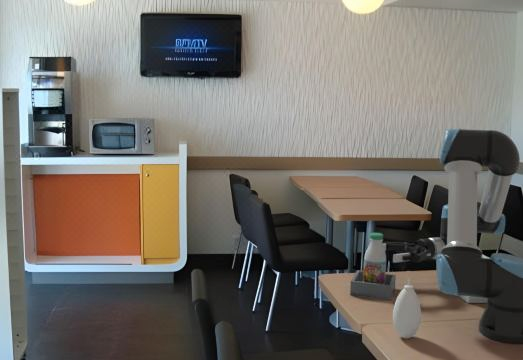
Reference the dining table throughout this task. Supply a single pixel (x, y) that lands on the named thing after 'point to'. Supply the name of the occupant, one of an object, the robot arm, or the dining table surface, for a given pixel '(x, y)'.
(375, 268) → the milk bottle
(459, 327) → the dining table surface
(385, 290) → the box
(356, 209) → the dining table surface
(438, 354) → the dining table surface
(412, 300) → the white squeeze bottle
